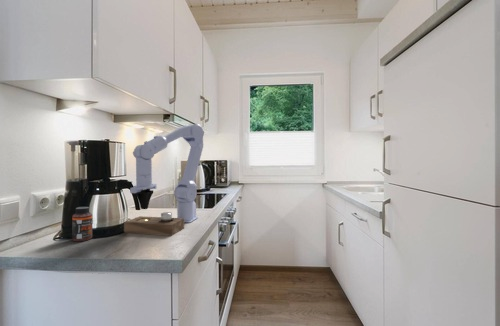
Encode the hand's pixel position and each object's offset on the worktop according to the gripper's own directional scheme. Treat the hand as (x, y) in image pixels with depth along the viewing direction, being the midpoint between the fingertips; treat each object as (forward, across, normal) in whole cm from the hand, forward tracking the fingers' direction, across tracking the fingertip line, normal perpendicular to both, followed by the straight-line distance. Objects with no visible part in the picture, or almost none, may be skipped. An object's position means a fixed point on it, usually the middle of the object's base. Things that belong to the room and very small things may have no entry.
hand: (144, 208), depth 103 cm
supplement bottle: (+9, +15, -14) cm, 23 cm away
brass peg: (+8, 0, 0) cm, 9 cm away
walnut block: (+8, 0, +4) cm, 10 cm away
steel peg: (+5, 0, +10) cm, 11 cm away
